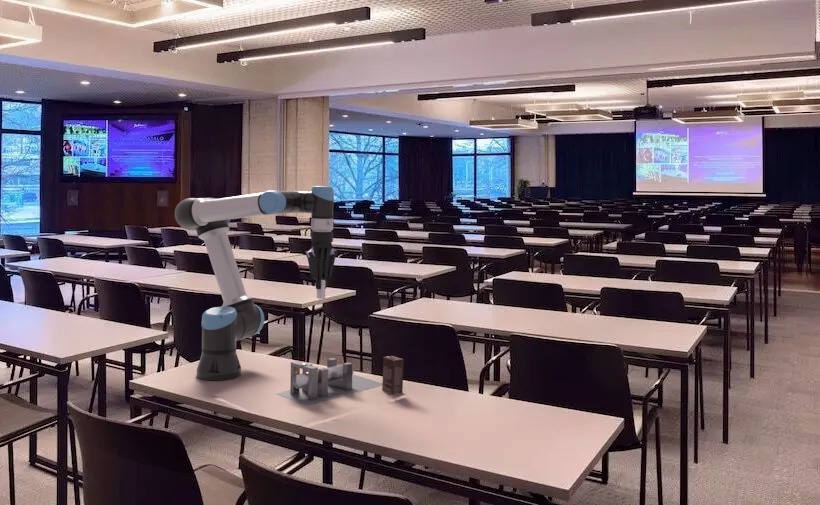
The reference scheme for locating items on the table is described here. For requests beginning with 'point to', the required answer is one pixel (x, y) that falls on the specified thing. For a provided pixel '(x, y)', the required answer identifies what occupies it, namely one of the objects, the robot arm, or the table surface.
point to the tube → (333, 374)
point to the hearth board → (333, 391)
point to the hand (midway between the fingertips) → (320, 298)
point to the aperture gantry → (311, 383)
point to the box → (392, 375)
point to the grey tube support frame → (346, 381)
